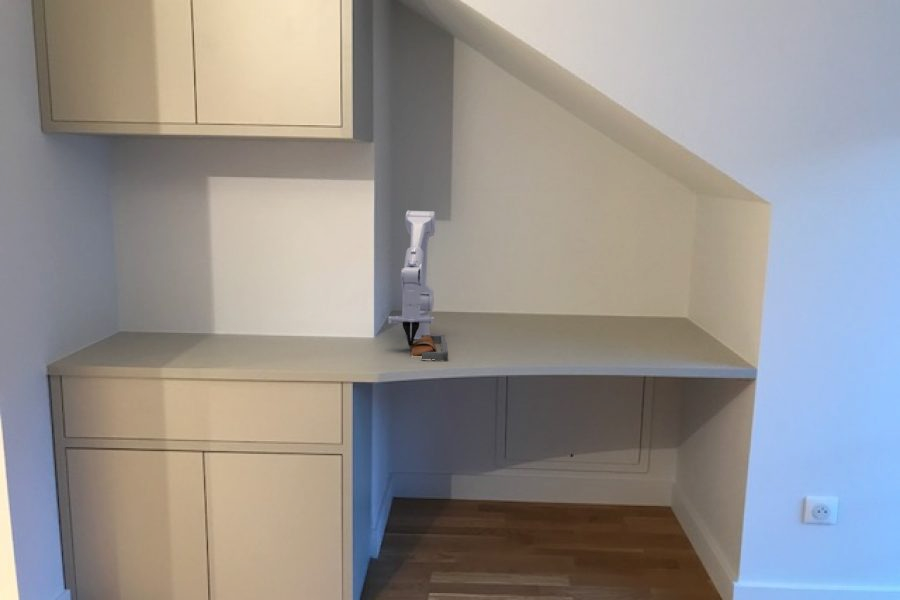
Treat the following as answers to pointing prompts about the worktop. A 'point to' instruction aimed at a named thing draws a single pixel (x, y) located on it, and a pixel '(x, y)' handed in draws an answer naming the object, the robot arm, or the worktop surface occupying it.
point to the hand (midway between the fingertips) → (410, 345)
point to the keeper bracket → (437, 355)
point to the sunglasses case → (423, 346)
